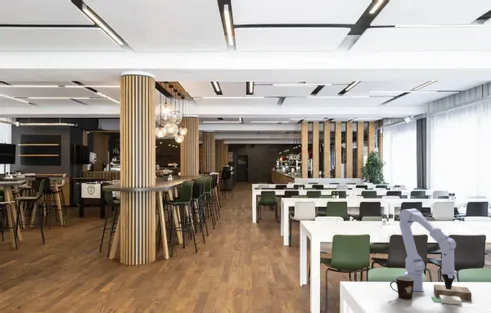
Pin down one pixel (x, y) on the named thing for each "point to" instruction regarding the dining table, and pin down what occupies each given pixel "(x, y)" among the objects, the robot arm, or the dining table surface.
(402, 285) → the coffee mug
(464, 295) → the brown flat block
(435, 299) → the mat
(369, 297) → the dining table surface
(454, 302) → the upright cream block
